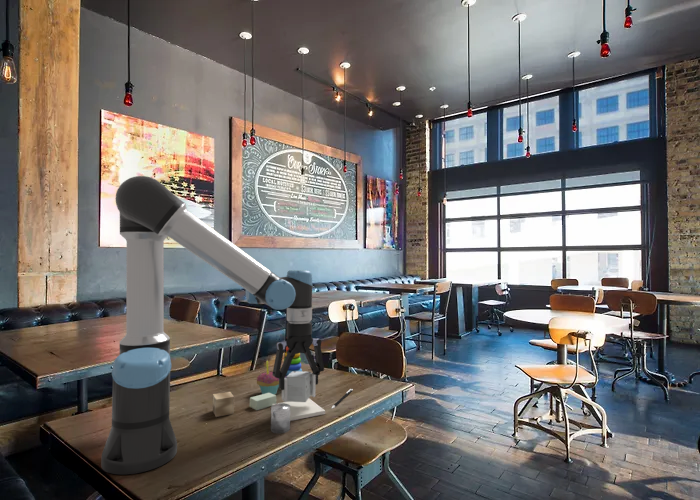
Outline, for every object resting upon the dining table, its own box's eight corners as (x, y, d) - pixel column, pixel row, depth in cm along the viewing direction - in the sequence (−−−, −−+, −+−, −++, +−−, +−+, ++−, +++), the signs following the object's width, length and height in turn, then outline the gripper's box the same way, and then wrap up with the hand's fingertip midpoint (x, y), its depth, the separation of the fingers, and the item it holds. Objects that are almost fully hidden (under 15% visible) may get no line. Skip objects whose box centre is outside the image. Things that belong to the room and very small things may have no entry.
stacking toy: (301, 388, 140) (302, 334, 141) (278, 388, 140) (279, 334, 141) (304, 381, 148) (304, 330, 149) (282, 381, 148) (283, 330, 149)
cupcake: (275, 398, 130) (276, 361, 130) (251, 396, 132) (252, 359, 132) (285, 390, 138) (285, 355, 139) (262, 388, 140) (262, 353, 140)
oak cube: (215, 417, 115) (216, 399, 115) (212, 411, 119) (213, 394, 119) (233, 414, 117) (233, 396, 117) (229, 408, 122) (230, 391, 122)
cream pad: (286, 421, 112) (286, 418, 112) (272, 407, 122) (272, 404, 122) (325, 414, 118) (325, 410, 118) (308, 401, 128) (308, 398, 128)
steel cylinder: (274, 434, 103) (274, 411, 104) (268, 427, 108) (268, 405, 108) (292, 431, 106) (293, 408, 106) (286, 424, 110) (286, 402, 110)
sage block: (256, 411, 120) (256, 401, 120) (249, 407, 123) (249, 397, 123) (276, 405, 125) (276, 395, 125) (268, 401, 128) (269, 392, 128)
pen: (353, 391, 139) (353, 387, 139) (333, 410, 121) (333, 406, 121) (351, 390, 140) (351, 387, 140) (330, 409, 122) (330, 406, 122)
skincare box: (305, 402, 117) (305, 377, 117) (285, 401, 118) (285, 376, 118) (311, 395, 123) (311, 371, 123) (292, 394, 124) (292, 370, 124)
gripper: (269, 326, 112) (268, 408, 112) (336, 320, 122) (335, 396, 122) (261, 322, 119) (260, 399, 118) (325, 317, 129) (325, 389, 128)
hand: (298, 397), depth 120 cm, fingers closed on skincare box, 8 cm apart
